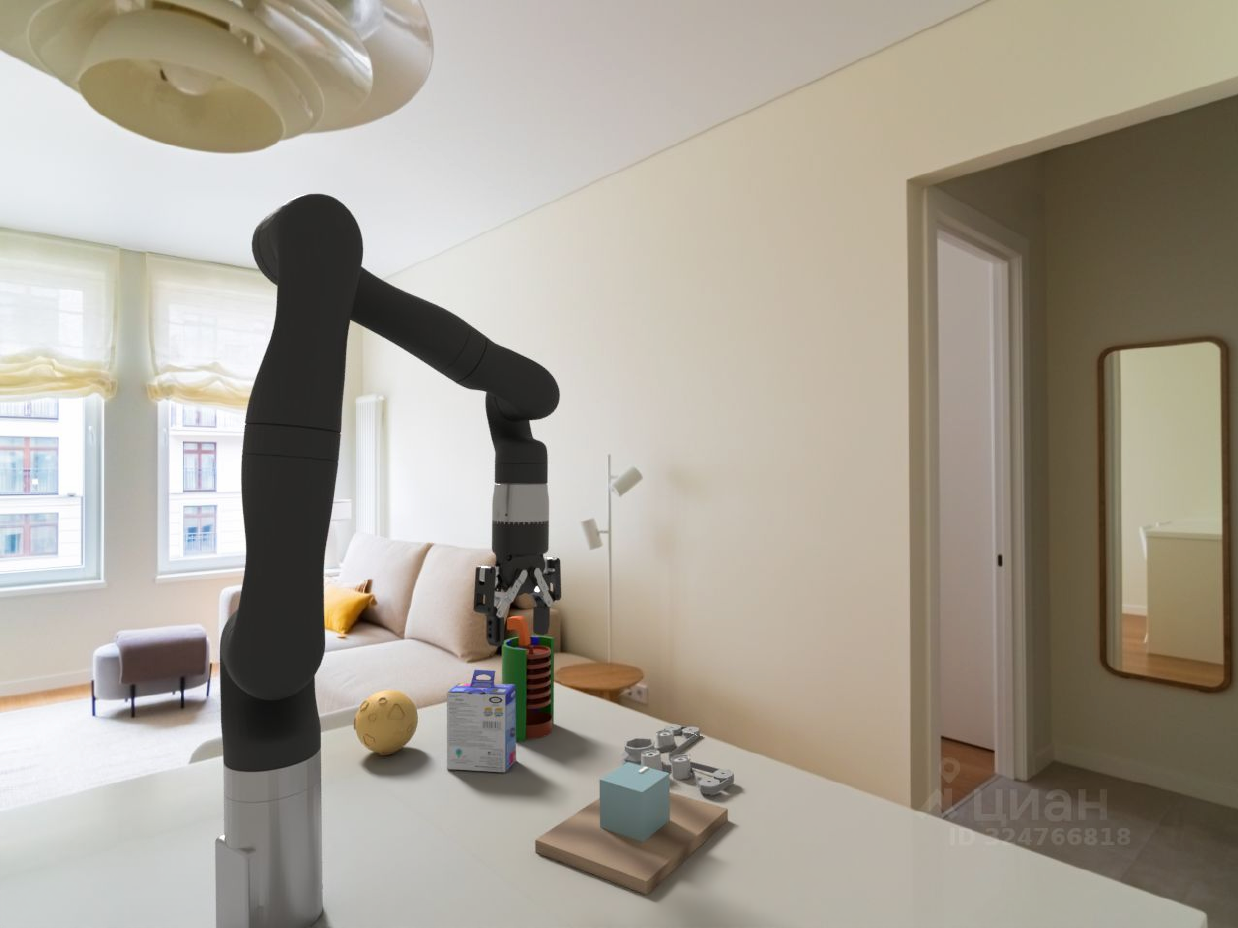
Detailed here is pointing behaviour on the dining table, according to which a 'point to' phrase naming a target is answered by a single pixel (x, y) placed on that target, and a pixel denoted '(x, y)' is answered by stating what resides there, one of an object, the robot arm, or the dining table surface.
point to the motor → (530, 679)
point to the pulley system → (675, 758)
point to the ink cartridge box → (481, 725)
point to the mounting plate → (632, 843)
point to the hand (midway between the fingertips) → (519, 639)
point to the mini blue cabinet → (634, 801)
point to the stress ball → (386, 721)
